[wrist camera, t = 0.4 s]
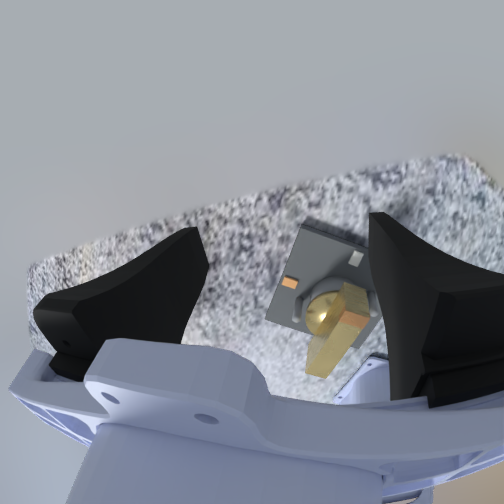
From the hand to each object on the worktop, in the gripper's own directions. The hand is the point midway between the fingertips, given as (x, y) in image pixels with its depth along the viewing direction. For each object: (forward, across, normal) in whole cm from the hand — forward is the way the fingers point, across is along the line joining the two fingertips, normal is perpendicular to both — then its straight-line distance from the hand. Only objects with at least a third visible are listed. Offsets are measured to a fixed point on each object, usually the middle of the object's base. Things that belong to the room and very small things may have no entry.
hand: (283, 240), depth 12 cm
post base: (+10, -2, +11) cm, 15 cm away
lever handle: (+7, -2, +11) cm, 13 cm away
